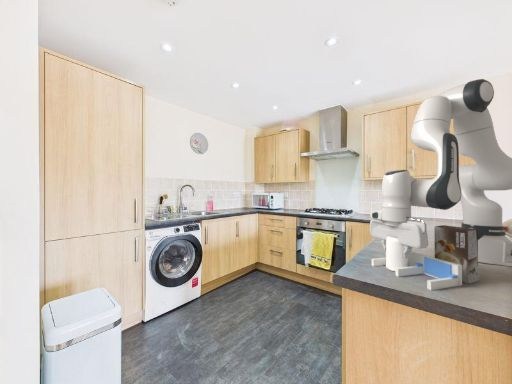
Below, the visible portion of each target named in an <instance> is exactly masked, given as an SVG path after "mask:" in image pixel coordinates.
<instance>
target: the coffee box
mask: <svg viewBox="0 0 512 384" xmlns="http://www.w3.org/2000/svg"><path fill="white" fill-rule="evenodd" d="M433 231H434V232H433V233H434V258H437V259H441V260H444V261H448V262H452V263H455V264H459V265H462V283H466V284H471V283H474V282H478V281H479V262H478V229H471V228H463V227H461V226H456V225H455V226H454V225H446V224H445V225H444V224H443V225H437V226H436V225H435V226H434V230H433Z"/></svg>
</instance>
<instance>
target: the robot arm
mask: <svg viewBox="0 0 512 384" xmlns="http://www.w3.org/2000/svg"><path fill="white" fill-rule="evenodd" d="M494 94H495V90H494V86H493V85H492V83H491V82H490V81H489V80H487V79H484V78H480V79H475V80H470V81H468V82H467V83H463V84H460V85H457V86H454V87H451V88H449V89H447V90H446V91H444V92H442V93H440V94H437V95H435V96H431V97H428V98H426V99H425V100H423V101H422V102H421V103H420V105H419V107H418V109H417V112H416V114H415V116H414V119H413V123H412V128H411V131H410V140H411V142H412V144H413V145H414V146H415V147H417V148H419V149H422V150H424V151H429V152H435V153H436V156H437V168H436V169H437V173H436V176H435V177H433V178H431V179H417V178H415V177H413V176H412V175H411V173H410V171H409V170H407V169H399V170H391V171H388V172H386V173H384V175H383V178H382V182H381V197H382V203H381V209H380V210H376V211H373V212H370V214H369V215H370V218H371V219H370V222H369V234H370V235H371V237H372V238H376V239H380V243H381V244H382V246H383V252H385V253H386V238H387V237H388V235H389V236H393V237H398V240H399V242H400V244H403V248H405V250H404V251H403V258H408V257H409V252H410V251H412V249H413V248H414V249H427V247H428V246H429V237H428V230H427V223H426V222H425V221H424V220H422V219H421V218H415V217H412V207H418V208H431V209H436V210H444V211H446V210H449V209H451V208H453V207H455V206H456V205H457V204H458V203H461V207H462V222H461V225H460V227H463V228H471V229H478V263H482V264H490V265H497V266H498V265H499V266H505V267H506V266H507V267H511V266H512V241H511V239H509V238H508V237H507V233H506V232H509V231H510V227H509V226H504V225H503V208H502V206H501V205H500V203H498V202H497V201H494V200H492V199H489V197H487V196H486V194H485V191H509V190H512V157H510V156H509V155H508V154H506V153H505V152H504V151H503V150H502V149H501V147H500V145H499V143H498V140H497V136H496V132H495V129H494V128H495V126H494V123H493V119H492V116H491V112H490V111H489V108H488V106H489V105H490V104H491V103H492V101H493V99H494V96H495V95H494ZM452 120H453V121H452ZM451 122H452V123H453V124H452V126H453V127H452V128H453V133H451V131H450V129H451V128H450V127H451ZM460 155H461V156H463V157H467V158H470V159H471V160H473V161H474V162H475V164H467V165H465V164H464V165H460V162H459V161H460V160H459V159H460Z"/></svg>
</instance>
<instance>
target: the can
mask: <svg viewBox="0 0 512 384" xmlns="http://www.w3.org/2000/svg"><path fill="white" fill-rule="evenodd" d="M404 250H405V248H403V244H400V242H399V240H398V237H393V236H389V235H388V237H387V238H386V252H385V257H386V265H385V268H386V270H388V271H391V272H394V273H396V268H401V267H408V258H403V251H404Z"/></svg>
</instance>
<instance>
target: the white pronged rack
mask: <svg viewBox="0 0 512 384" xmlns="http://www.w3.org/2000/svg"><path fill="white" fill-rule="evenodd" d="M371 266H372V267H381V266H386V256H385V257H378V258H377V257H376V258H371ZM415 275H426V276H428V277H432V278H434V279H428V280H426V286H427V287H426V289H427V290H430V291H434V290H440V289H447V288H454V287H460V286H463V282H462V265H459V264H455V263H452V262H448V261H444V260H441V259H437V258H435V256H429V255H426V254H423V253H419V252H415V251H412V250H411V251H410V252H409V257H408V267H401V268H396V272H395V276H396V277H398V278H399V277H407V276H415Z"/></svg>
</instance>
